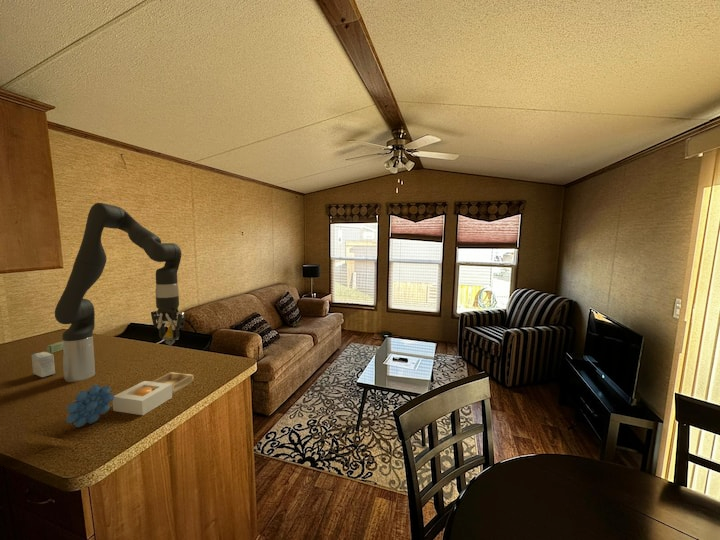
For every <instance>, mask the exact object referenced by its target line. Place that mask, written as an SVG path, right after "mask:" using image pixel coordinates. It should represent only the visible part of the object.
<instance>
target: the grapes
mask: <svg viewBox="0 0 720 540" xmlns="http://www.w3.org/2000/svg"><path fill="white" fill-rule="evenodd" d="M111 389H112V388H111V386H109V385H104V386H102V387H101V385H100V384H94V385H91V387H90V388H89V389H88V390H81V391H80V392H78V393H77V394H76V396H75V400H74V401H72V402H71V403H69V404H68V405H67V408H66V412H67V413H69V414H68V415H67V416H66V420H65V421H66V423H67V424H72V423H73V424H74V427H75V428H81V427H83V426H85V425H86V424H87V423H88V424H94V423H96V422H97V421H99V418H100V415H104V414H107V412H108V411H109V409H110V407H111V405H110V404H109V403H111V402H113V398H114V396H115V395H114V393H112V392H111Z"/></svg>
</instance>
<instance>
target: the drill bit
mask: <svg viewBox="0 0 720 540" xmlns="http://www.w3.org/2000/svg"><path fill="white" fill-rule="evenodd" d="M172 330H173V329H172V326H171V325H170V324H169V327H168V328H167V330H166V334H165V336H163V338H162V341H163V340H164V343H165V344H167V345H169V347H171V346H172V345H173V344H174V343H175V342H176V341H177V340H179V338H180V336H179V337H178V338H177V339H173V334H172Z"/></svg>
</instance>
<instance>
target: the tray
mask: <svg viewBox="0 0 720 540" xmlns="http://www.w3.org/2000/svg"><path fill="white" fill-rule="evenodd" d="M194 377H195V376H194V374H191V373H189V374H188V373H183V372H174V371H173V372H172V371H170V372H168V373H166V374H165V375H162V376H160V377H158V378H156V379H154V380H152V381H151V382H157V383H165V384H172V395H174V394H175V393H177V392H179V391H180V390H181V389H183V388H184V387H187V386H188V385H189V384H191V383H192V382H194V379H195V378H194Z"/></svg>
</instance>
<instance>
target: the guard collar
mask: <svg viewBox="0 0 720 540" xmlns="http://www.w3.org/2000/svg"><path fill="white" fill-rule="evenodd" d="M144 387H151V388H152V391H151V392H150V393H148V394H146V395H144V396H137V395H135V391H136V390H138V389H140V388H144ZM172 398H173V394H172V384H165V383H157V382H152V381H150V380H144V381H141V382H138V384H135V385H134V386H132V387H128V388H127V389H125V390H122V391H120V392H119V393H117V394H115V395H114V398H113V400H112V410H113V411H114V412H119V413H125V414H133V415H138V416H144V415H146V414H148V413H149V412H151V411H153V410H154V409H156V408H157V407H159V406H161V405H162V404H164V403H166V402H168V400H170V399H172Z"/></svg>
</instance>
